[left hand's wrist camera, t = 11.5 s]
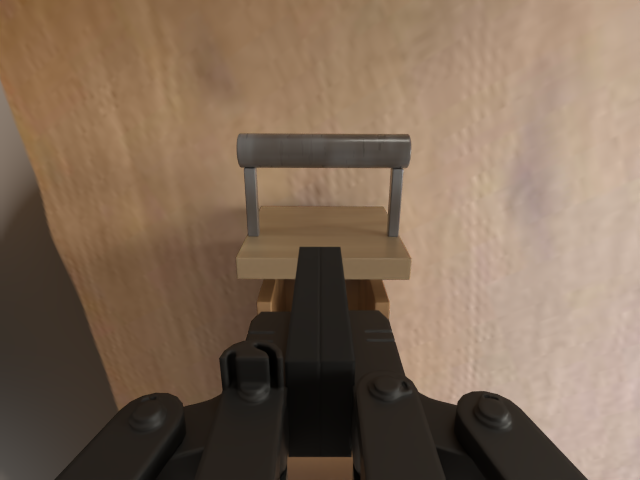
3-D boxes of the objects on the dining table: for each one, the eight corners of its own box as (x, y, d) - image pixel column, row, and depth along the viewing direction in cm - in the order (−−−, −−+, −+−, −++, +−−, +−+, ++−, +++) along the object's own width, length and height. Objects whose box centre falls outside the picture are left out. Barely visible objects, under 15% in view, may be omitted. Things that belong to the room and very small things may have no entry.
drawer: (256, 124, 27) (224, 141, 18) (390, 124, 27) (424, 142, 18) (269, 393, 35) (252, 497, 26) (373, 393, 35) (391, 497, 26)
